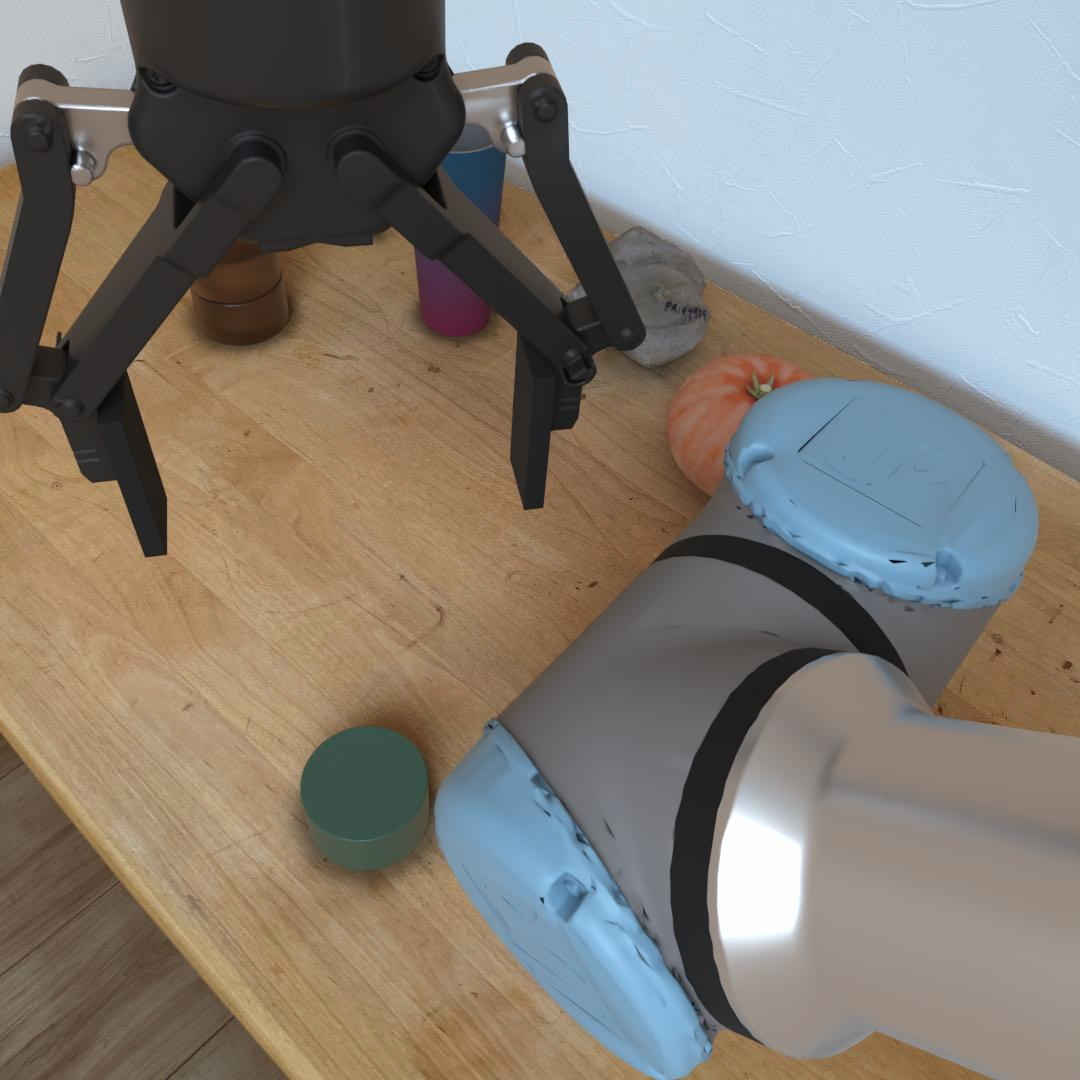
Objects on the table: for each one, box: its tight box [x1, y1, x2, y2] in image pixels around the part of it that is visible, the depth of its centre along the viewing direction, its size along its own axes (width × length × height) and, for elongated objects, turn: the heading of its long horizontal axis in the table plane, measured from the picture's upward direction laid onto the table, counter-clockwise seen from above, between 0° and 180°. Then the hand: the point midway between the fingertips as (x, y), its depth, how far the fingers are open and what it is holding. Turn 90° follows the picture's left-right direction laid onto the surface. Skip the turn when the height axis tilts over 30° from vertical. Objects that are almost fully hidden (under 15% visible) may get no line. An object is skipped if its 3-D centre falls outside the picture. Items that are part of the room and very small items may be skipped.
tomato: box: [666, 353, 817, 497], centre depth 67 cm, size 11×11×8 cm
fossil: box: [566, 225, 711, 369], centre depth 74 cm, size 11×9×8 cm
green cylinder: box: [299, 725, 430, 872], centre depth 52 cm, size 6×6×4 cm
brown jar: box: [189, 238, 290, 346], centre depth 73 cm, size 7×7×10 cm
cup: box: [413, 125, 508, 337], centre depth 72 cm, size 7×7×15 cm
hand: (347, 505), depth 39 cm, fingers open, 13 cm apart
